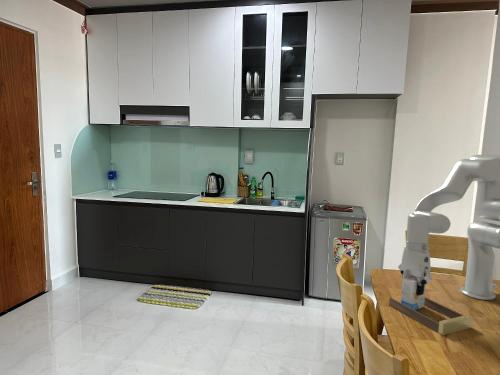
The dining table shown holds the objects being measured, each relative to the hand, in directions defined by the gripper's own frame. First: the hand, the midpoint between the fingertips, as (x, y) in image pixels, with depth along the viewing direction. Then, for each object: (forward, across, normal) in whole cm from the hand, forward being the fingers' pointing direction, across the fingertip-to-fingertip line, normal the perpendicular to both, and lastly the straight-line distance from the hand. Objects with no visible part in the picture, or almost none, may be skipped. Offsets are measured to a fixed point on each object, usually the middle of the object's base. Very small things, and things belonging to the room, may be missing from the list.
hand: (412, 291), depth 133 cm
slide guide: (+6, -7, 0) cm, 10 cm away
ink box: (+7, 0, 0) cm, 7 cm away
